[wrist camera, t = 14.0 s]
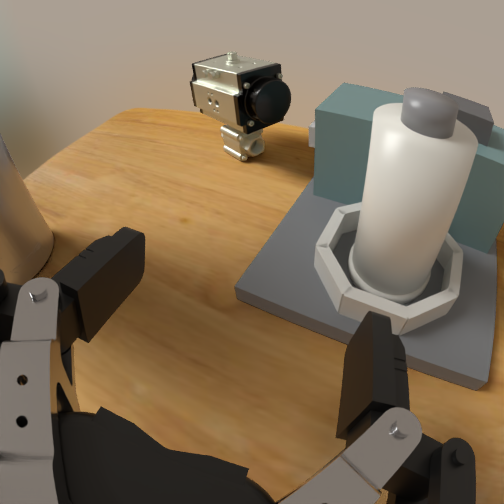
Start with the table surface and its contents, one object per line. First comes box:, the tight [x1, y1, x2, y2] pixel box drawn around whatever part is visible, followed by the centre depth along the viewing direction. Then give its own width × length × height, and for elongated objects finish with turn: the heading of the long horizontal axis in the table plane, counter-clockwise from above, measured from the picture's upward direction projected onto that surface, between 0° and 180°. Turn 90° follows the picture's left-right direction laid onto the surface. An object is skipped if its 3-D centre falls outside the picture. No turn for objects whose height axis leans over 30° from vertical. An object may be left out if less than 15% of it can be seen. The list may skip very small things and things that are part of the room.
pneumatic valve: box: [190, 52, 291, 161], centre depth 32 cm, size 6×12×12 cm, turn 38°
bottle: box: [348, 88, 478, 304], centre depth 17 cm, size 6×6×12 cm
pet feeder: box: [235, 83, 504, 391], centre depth 20 cm, size 19×19×12 cm
